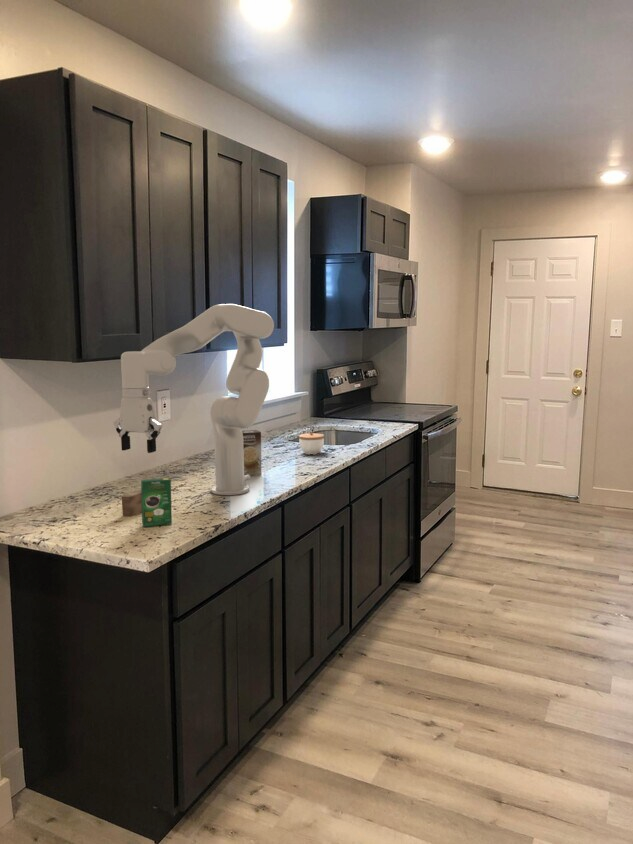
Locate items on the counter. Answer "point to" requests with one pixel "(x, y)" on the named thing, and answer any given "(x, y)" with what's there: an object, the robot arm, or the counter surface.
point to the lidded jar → (311, 442)
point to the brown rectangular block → (132, 503)
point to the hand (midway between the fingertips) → (138, 450)
